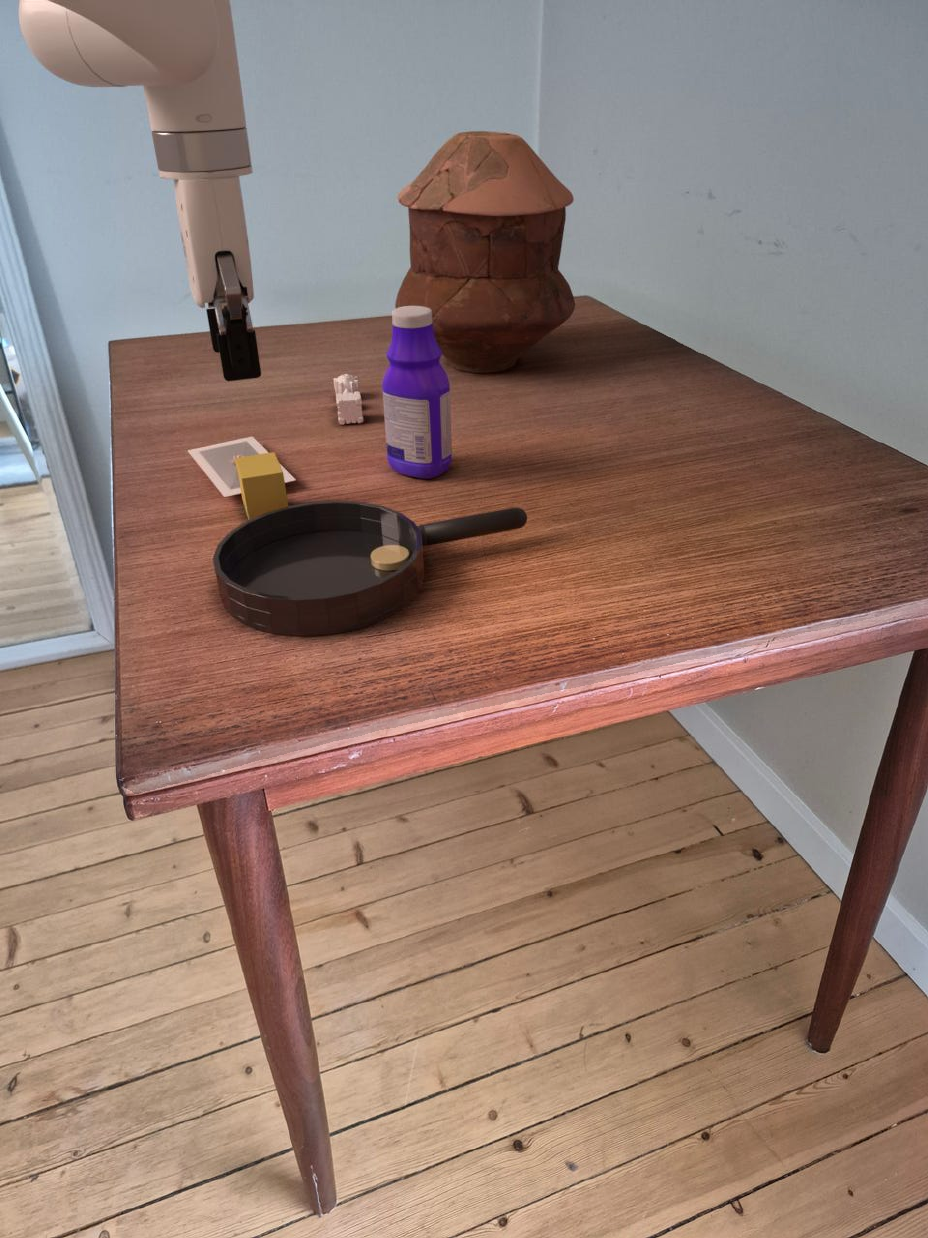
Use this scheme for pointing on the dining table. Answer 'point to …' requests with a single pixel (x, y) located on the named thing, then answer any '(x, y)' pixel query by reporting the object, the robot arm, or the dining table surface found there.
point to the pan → (317, 568)
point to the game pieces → (348, 399)
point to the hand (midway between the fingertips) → (236, 363)
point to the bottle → (416, 397)
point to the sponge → (261, 484)
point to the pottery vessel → (487, 249)
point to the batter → (389, 557)
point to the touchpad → (229, 463)
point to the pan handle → (472, 526)
